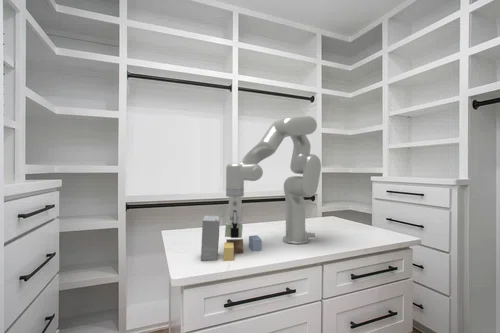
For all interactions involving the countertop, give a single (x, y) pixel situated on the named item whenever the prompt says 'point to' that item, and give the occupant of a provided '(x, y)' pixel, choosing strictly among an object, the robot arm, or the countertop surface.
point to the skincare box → (210, 238)
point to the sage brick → (228, 230)
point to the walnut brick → (236, 245)
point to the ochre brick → (228, 251)
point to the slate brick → (255, 243)
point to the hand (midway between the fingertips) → (234, 235)
